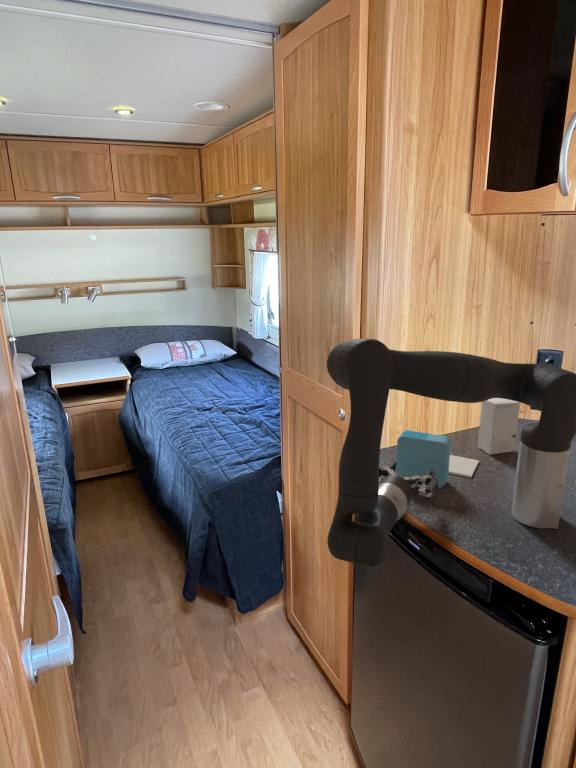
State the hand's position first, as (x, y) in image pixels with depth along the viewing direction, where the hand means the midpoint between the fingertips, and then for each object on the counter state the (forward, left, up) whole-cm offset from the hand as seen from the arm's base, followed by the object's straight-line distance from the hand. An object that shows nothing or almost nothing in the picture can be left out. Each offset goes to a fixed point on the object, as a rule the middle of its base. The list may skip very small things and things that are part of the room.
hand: (412, 468), depth 115 cm
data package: (0, -9, -7) cm, 11 cm away
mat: (-3, -21, -7) cm, 22 cm away
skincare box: (-13, -37, -7) cm, 39 cm away
